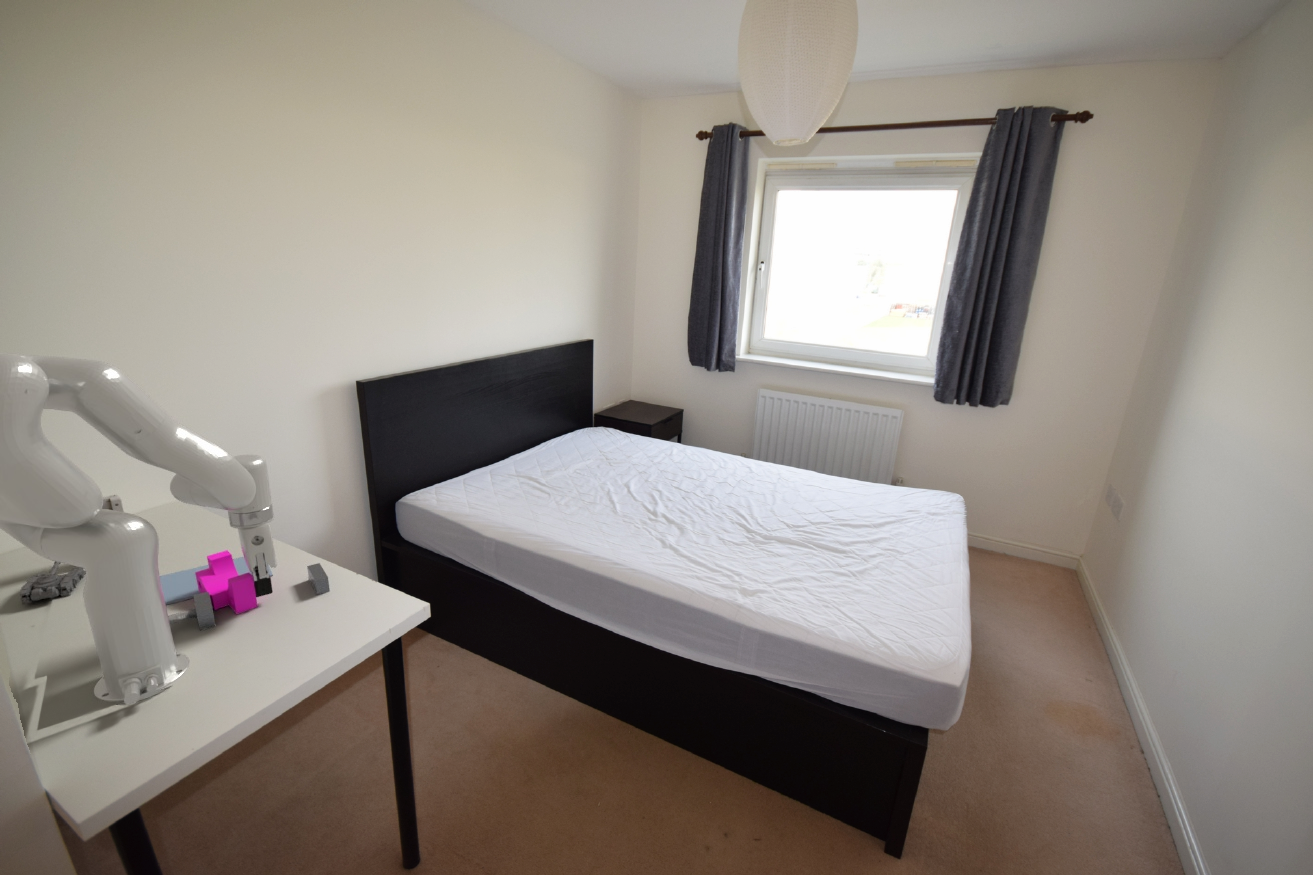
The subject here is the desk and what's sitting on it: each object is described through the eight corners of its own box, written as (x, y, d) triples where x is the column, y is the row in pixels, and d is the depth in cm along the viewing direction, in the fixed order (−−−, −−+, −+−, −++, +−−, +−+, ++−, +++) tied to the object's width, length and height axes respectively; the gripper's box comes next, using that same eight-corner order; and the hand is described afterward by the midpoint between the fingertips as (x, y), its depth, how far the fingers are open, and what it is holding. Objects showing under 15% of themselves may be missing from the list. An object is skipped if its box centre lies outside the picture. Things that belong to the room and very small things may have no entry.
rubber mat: (273, 577, 132) (272, 574, 132) (148, 609, 118) (147, 606, 118) (263, 554, 142) (262, 552, 142) (146, 581, 128) (146, 579, 128)
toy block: (198, 590, 125) (192, 560, 122) (232, 579, 129) (227, 550, 127) (222, 619, 116) (216, 587, 114) (257, 606, 121) (252, 575, 119)
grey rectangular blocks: (330, 592, 127) (328, 577, 126) (163, 641, 109) (159, 622, 108) (321, 578, 133) (319, 562, 132) (162, 621, 114) (158, 604, 113)
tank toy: (35, 582, 127) (29, 561, 125) (93, 572, 131) (88, 552, 130) (13, 609, 117) (6, 587, 115) (76, 598, 122) (70, 576, 120)
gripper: (279, 522, 114) (290, 603, 119) (267, 499, 125) (277, 574, 130) (233, 531, 109) (247, 615, 114) (224, 507, 120) (237, 584, 125)
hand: (263, 593), depth 122 cm, fingers closed
